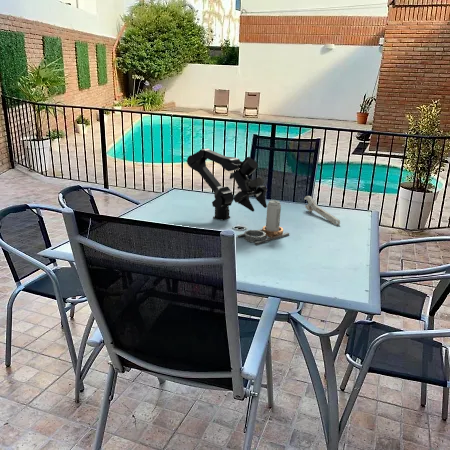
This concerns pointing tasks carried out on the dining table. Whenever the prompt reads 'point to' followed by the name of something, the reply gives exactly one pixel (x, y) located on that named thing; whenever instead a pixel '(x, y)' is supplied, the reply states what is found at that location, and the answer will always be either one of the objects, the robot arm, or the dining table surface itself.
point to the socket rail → (262, 235)
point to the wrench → (320, 211)
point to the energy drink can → (273, 215)
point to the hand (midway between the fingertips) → (260, 209)
